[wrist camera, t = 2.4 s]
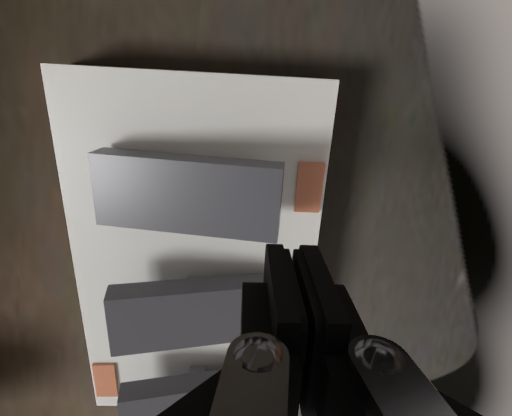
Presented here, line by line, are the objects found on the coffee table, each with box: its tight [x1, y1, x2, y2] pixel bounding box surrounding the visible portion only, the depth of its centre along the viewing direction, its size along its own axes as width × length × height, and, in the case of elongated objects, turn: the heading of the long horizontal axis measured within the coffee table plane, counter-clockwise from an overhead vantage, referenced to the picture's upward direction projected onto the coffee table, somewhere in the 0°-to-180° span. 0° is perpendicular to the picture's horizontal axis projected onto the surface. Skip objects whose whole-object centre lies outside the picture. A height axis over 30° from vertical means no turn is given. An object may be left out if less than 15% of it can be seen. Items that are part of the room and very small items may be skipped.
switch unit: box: [40, 63, 339, 406], centre depth 21 cm, size 22×14×4 cm, turn 177°
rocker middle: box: [103, 273, 264, 357], centre depth 19 cm, size 4×9×1 cm, turn 87°
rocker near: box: [87, 147, 285, 244], centre depth 17 cm, size 4×9×1 cm, turn 87°
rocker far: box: [117, 369, 221, 416], centre depth 22 cm, size 4×9×1 cm, turn 87°
